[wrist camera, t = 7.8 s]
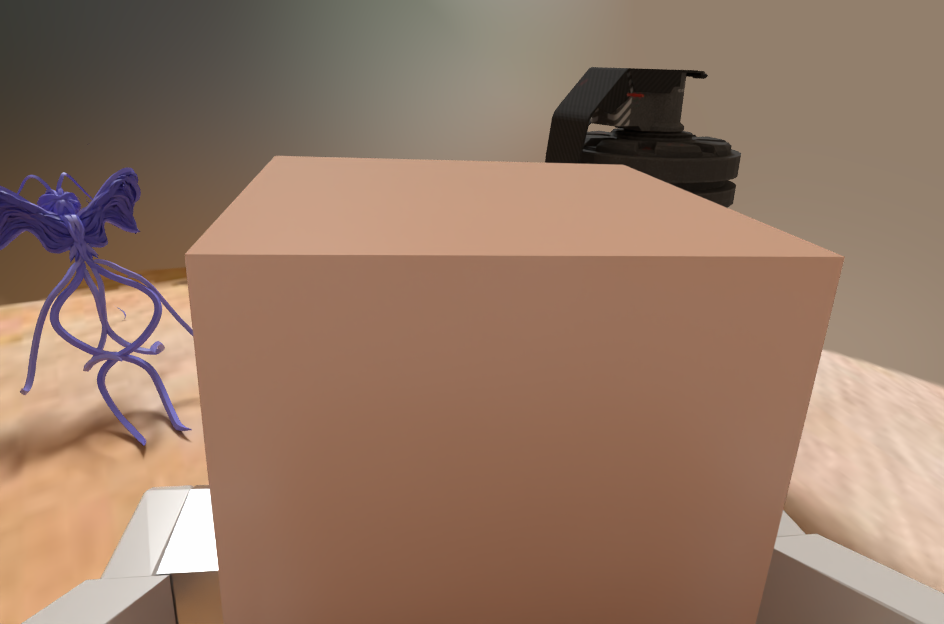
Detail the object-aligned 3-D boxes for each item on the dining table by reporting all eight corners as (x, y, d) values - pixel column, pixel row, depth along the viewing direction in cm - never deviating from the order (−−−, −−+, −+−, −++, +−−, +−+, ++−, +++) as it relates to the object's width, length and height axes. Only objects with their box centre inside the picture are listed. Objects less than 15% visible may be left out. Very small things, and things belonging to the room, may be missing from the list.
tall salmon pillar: (653, 1043, 8) (843, 257, 5) (274, 1113, 8) (184, 255, 4) (557, 714, 12) (623, 165, 9) (306, 739, 12) (274, 156, 8)
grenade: (730, 431, 40) (795, 73, 33) (582, 478, 35) (623, 68, 28) (626, 371, 48) (662, 69, 41) (492, 403, 43) (507, 64, 36)
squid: (18, 577, 41) (11, 440, 29) (-121, 165, 53) (-170, -61, 40) (242, 486, 50) (311, 353, 38) (83, 153, 62) (95, -33, 49)
